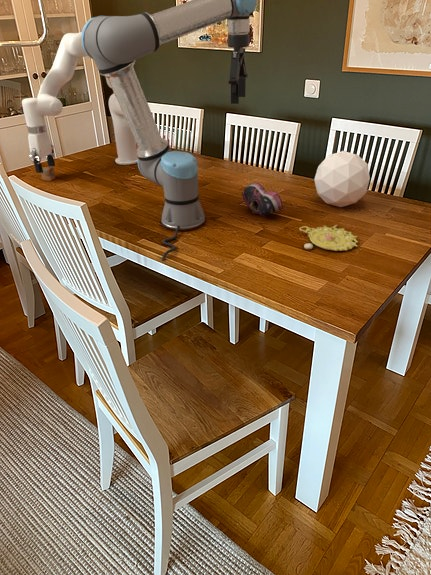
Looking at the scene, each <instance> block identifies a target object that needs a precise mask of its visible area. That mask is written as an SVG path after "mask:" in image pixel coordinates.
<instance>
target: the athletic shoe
mask: <svg viewBox="0 0 431 575" xmlns="http://www.w3.org/2000/svg"><path fill="white" fill-rule="evenodd" d="M241 197H242V199H243V201H238V203H239V204H241V205H245V206H246V207H247V208H248V210H249V211H250V210H251V213H252V214H255V215H260V217H266V216H267V215H270V214H274V213H275V212H279V211H282V210H283V209H284V205H283V201H282V198H281V196H280V195H279V194H278V192H277V191H274V190H269V191H267V190H266V189H265V187H264V186H263V185H262V184H261V183H258V182H251V183H249V184H247V186H246V187H245V188H244V190H243V191H242V192H241Z"/></svg>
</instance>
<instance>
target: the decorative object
mask: <svg viewBox="0 0 431 575" xmlns="http://www.w3.org/2000/svg"><path fill="white" fill-rule="evenodd" d="M303 228H304V229H305V230H304V229H303ZM299 231H300V232H303V233H305V234H307V237H308V238H309V240H310V241H311V243H304V244H303V248H304V249H305V250H313V249H314V245H315V246H316V247H318V248H321V249H324V250H328V251H335V252H341V251H348V250H352V249H354V247H356V248H358V247H359V245H358V244H357V243H359V240H357V238H359V237H358V235H353V234H352V231H347V230H346V229H345V228H344V227H342V228H338V224H335V225H333V226H331V227H328V226H327V225H326V224H325V225H323V226H322V227H321V226H317V227H316V228H314V227H309V226H308V225H302V226H300V227H299ZM313 244H314V245H313Z"/></svg>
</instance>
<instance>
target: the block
mask: <svg viewBox="0 0 431 575" xmlns="http://www.w3.org/2000/svg"><path fill="white" fill-rule="evenodd" d="M42 169H43V173H40V175H41V180H42V181H44V182H45V181H46V182H51V181H53V180H55V179H56V178H57V177H56V172H55V168H54V166H45V167H42Z"/></svg>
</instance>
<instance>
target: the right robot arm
mask: <svg viewBox="0 0 431 575" xmlns="http://www.w3.org/2000/svg"><path fill="white" fill-rule="evenodd" d="M257 4H258V0H190V1H186V2H184V3H181V4H178V5H175V6H172V7H170V8H167V9H163V10H161V11H158V12H154V13H153V14H150V13H148V12H147V11H146V12H142V13H139V14H133V15H123V16H121V15H98V16H94V17H91V18H89V19H88V20H87V21H86V22H85V23H84V24H83V27H82V29H81V32H82V33H81V42H82V46H83V49H84V51H85V52H86V53H87V55H88V57H89V58H90V59H92V60H93V61H94V64H95V66H96V68H97V70H98V72H99V74H100V76H103V77H105V78H106V77H107V78H108V80H109V83H110V85H111V87H112V88H111V89H112V93H113V94H115V96H116V98H117V101H118V103H119V105H120V107H121V110H122V112H123V114H124V116H125V119H126V121H127V123H128V125H129V128H130V130H131V132H132V134H133V137H134V139H135V141H136V147H137V148H136V149H137V152H136V154H137V156H138V163H137V167H138V170H139V173H140V174H141V175H142V176H143V177H144V178H145V179H146V180H148V181H150V182H152V183H154V184H156V185H158V186H159V187H161V188H163V194H164V204H163V209H162V213H161V219H160V220H161V225H162V227H163V228H165V229H167V230H170V231H174V234H173V236H172V237H168V238H164V239H163V240H162V244H163V245H165V246H168V247H172V248H171V249H168V250H166V251H165V252H164V253H163V255H162V258H161V262H164V261H165V260H166V257H167V255H168V254H170V253H171V252H174V251H176V245H175V244H173V243H171V241H174V240H175V239H176V238H177V237H178V233H179V232H185V231H186V232H187V231H192V230H195V229H198V228H201V227H202V226H203V225H204V224H205V223H206V217H205V212H204V210H203V208H202V204H201V202H200V196H199V175H198V172H199V167H198V162H197V159H196V157H195V156H194V155H193V154H192V153H190V152H187V151H181V150H172V149H171V146H170V144H169V141H168V140H167V139H166V138H163V137H162V135H161V133H160V131H159V128H158V126H157V123H156V121H155V119H154V118H155V117H154V115H153V113H152V111H151V108H150V106H149V103H148V101H147V98H146V96H145V93H144V90H143V88H142V86H141V83H140V81H139V80H140V79H139V78H138V75H137V73H136V71H135V68H134V65H135V63H136V60H139V59H141V58H143V57H146V56H147V55H150V54H152V53H154V52H158V51H159V49H160V47H161V46H162V45H164V44H166V43H169V42H172V41H174V40H177V39H179V38H182V37H184V36H187V35H190V34H192V33H195V32H198V31H200V30H202V29H206V28H208V27H210V26H212V25H213V26H214V25H215V24H218V23H221V22H223V21H226V20H227V22H226V23H225V26H226V27H227V34H228V35H227V47H228V48H233V50H232V51H231V52H230V69H229V80H228V81H227V84H229V85H230V105H231V104H232V105H238V104H240V98H245V97H246V84H247V83H246V80H247V79H246V78H248V77H249V76H248V72H247V62H246V48H248V47H249V46H250V35H249V33H250V30H251V29H250V25H251V23H250V22H251V20H250V14H251V13H253V12H254V11H255V9H256V7H257Z"/></svg>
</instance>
